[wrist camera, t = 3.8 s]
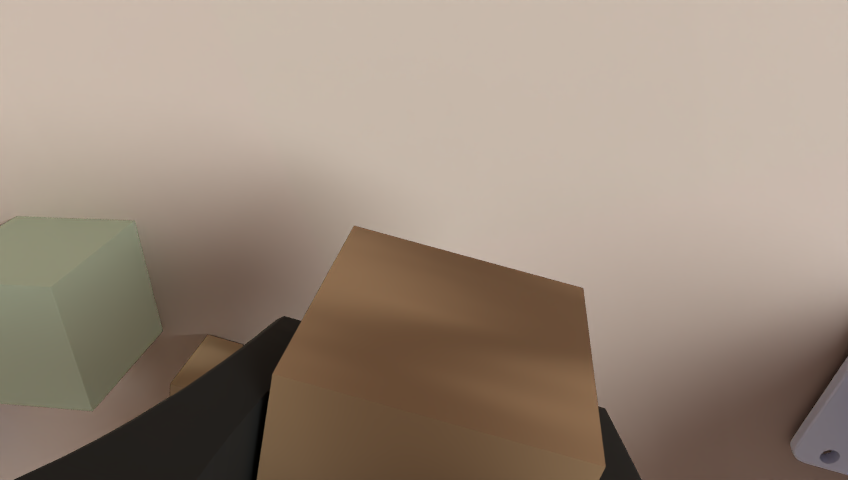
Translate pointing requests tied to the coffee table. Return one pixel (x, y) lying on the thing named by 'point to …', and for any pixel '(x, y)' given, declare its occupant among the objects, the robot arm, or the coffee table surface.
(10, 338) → the block
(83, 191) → the coffee table surface
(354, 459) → the walnut cube
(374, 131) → the coffee table surface
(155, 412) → the robot arm
